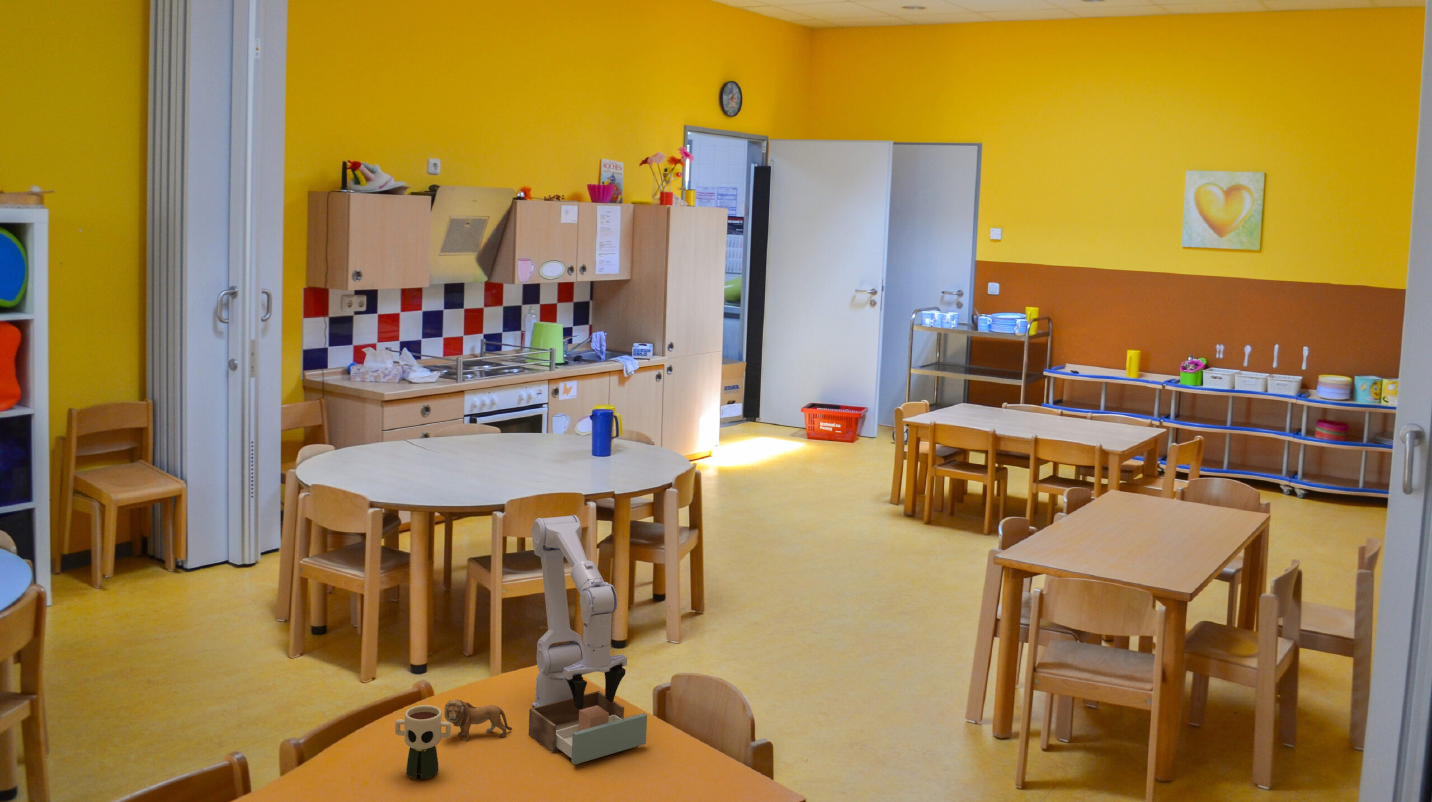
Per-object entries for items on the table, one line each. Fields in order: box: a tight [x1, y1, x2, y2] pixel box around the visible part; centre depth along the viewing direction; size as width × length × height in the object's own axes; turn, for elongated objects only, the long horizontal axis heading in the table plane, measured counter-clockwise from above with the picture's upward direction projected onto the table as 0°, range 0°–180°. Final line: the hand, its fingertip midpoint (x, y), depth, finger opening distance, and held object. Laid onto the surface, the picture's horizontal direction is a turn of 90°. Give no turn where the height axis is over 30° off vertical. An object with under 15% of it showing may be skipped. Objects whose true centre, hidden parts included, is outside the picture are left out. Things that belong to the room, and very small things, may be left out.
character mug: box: [394, 704, 452, 780], centre depth 232 cm, size 11×7×13 cm, turn 90°
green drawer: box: [556, 712, 648, 765], centre depth 247 cm, size 11×18×6 cm, turn 129°
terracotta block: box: [578, 706, 609, 731], centre depth 249 cm, size 4×4×6 cm
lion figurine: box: [443, 698, 513, 742], centre depth 250 cm, size 15×5×9 cm, turn 116°
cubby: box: [528, 690, 625, 754], centre depth 254 cm, size 10×18×6 cm, turn 129°
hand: (594, 703), depth 248 cm, fingers open, 7 cm apart
